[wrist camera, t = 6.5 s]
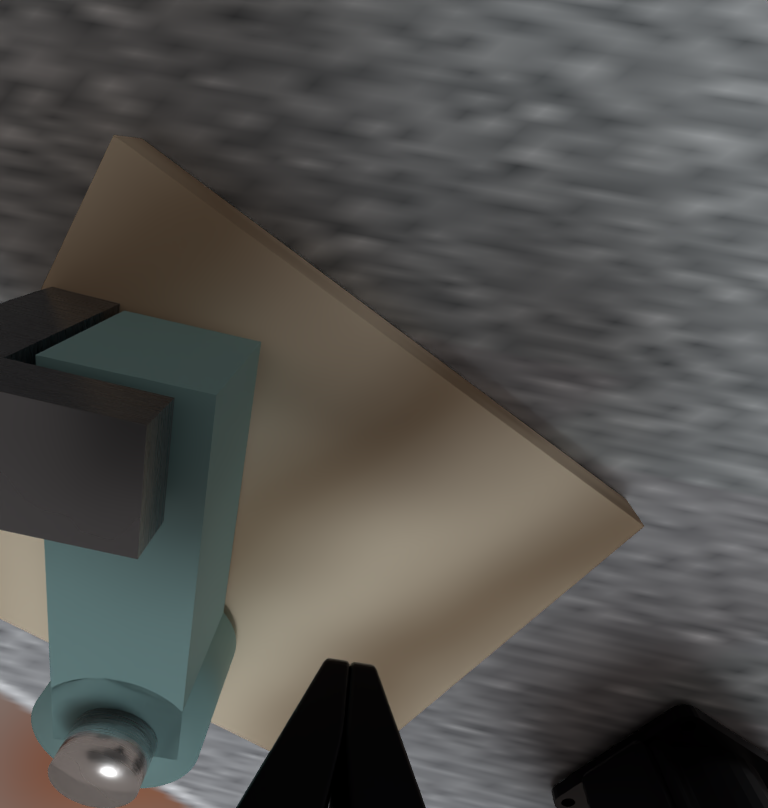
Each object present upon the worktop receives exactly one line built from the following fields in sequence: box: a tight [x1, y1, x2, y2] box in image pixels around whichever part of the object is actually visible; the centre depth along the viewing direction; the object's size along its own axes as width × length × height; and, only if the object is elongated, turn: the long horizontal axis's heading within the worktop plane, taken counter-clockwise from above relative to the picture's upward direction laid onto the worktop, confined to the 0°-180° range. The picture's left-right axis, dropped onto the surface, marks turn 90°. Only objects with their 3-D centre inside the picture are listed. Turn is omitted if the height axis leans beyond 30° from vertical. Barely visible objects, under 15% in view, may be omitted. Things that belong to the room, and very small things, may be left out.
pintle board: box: [0, 135, 644, 751], centre depth 13 cm, size 15×14×6 cm
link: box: [31, 311, 261, 808], centre depth 12 cm, size 12×4×4 cm, turn 167°
